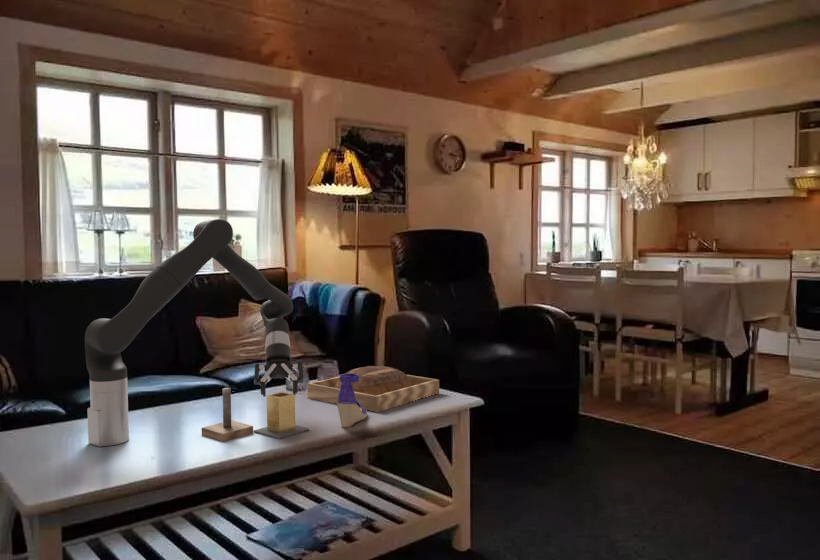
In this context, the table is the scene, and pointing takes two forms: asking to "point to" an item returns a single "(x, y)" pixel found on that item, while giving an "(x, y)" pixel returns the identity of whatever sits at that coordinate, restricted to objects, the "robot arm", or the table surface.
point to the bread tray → (380, 402)
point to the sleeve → (280, 412)
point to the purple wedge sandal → (349, 402)
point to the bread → (378, 380)
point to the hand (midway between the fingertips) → (279, 394)
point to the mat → (281, 435)
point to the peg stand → (227, 423)
